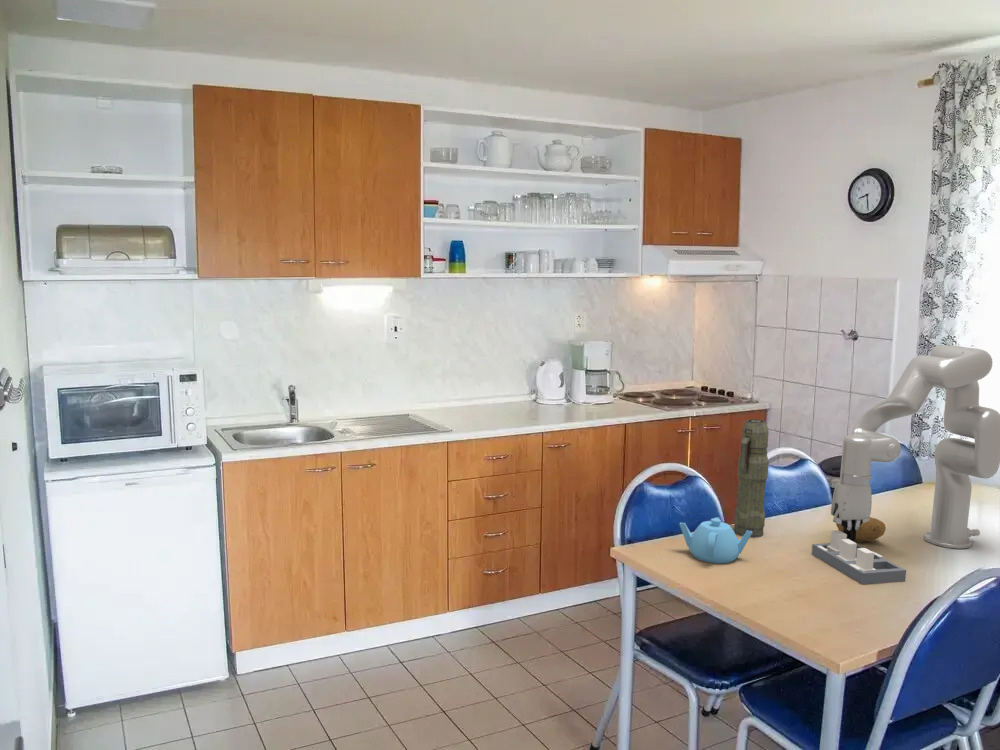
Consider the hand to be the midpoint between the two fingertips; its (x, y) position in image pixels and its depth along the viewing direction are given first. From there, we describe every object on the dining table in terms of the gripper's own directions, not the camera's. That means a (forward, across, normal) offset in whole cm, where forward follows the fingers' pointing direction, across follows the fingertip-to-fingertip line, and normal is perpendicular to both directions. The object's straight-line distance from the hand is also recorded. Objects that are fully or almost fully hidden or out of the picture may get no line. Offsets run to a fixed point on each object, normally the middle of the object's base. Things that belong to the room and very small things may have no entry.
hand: (848, 542), depth 230 cm
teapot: (+5, +37, -8) cm, 38 cm away
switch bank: (+4, +2, +7) cm, 9 cm away
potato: (+5, -13, -12) cm, 18 cm away
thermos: (+5, +17, -24) cm, 30 cm away
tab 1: (+3, +3, 0) cm, 5 cm away
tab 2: (+3, +6, +7) cm, 10 cm away
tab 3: (+3, +5, +14) cm, 15 cm away
